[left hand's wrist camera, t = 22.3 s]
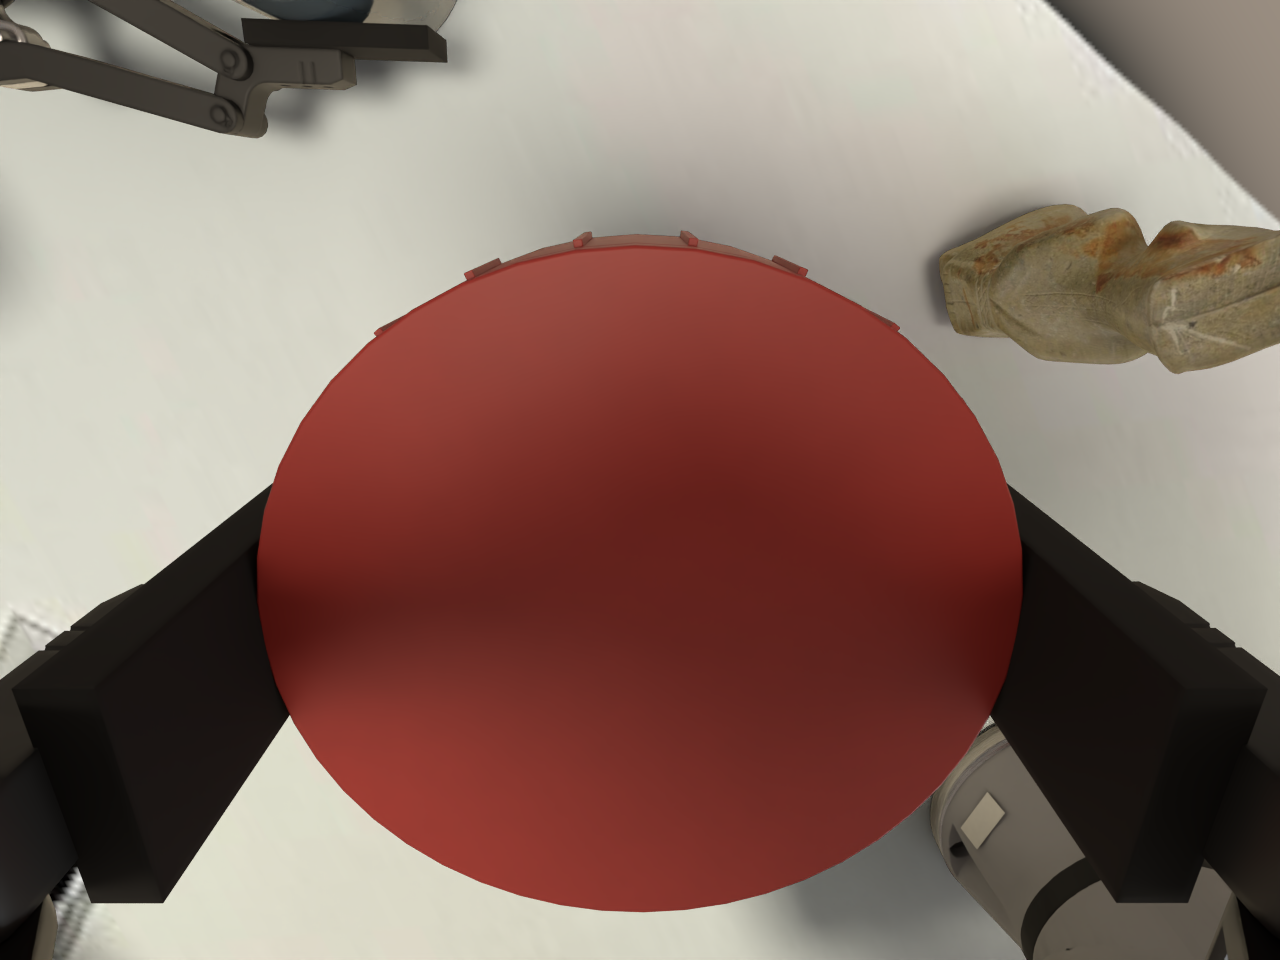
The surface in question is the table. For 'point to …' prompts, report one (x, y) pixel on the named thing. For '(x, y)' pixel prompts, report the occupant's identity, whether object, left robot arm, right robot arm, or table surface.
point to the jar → (356, 10)
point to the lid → (639, 575)
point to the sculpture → (1118, 288)
